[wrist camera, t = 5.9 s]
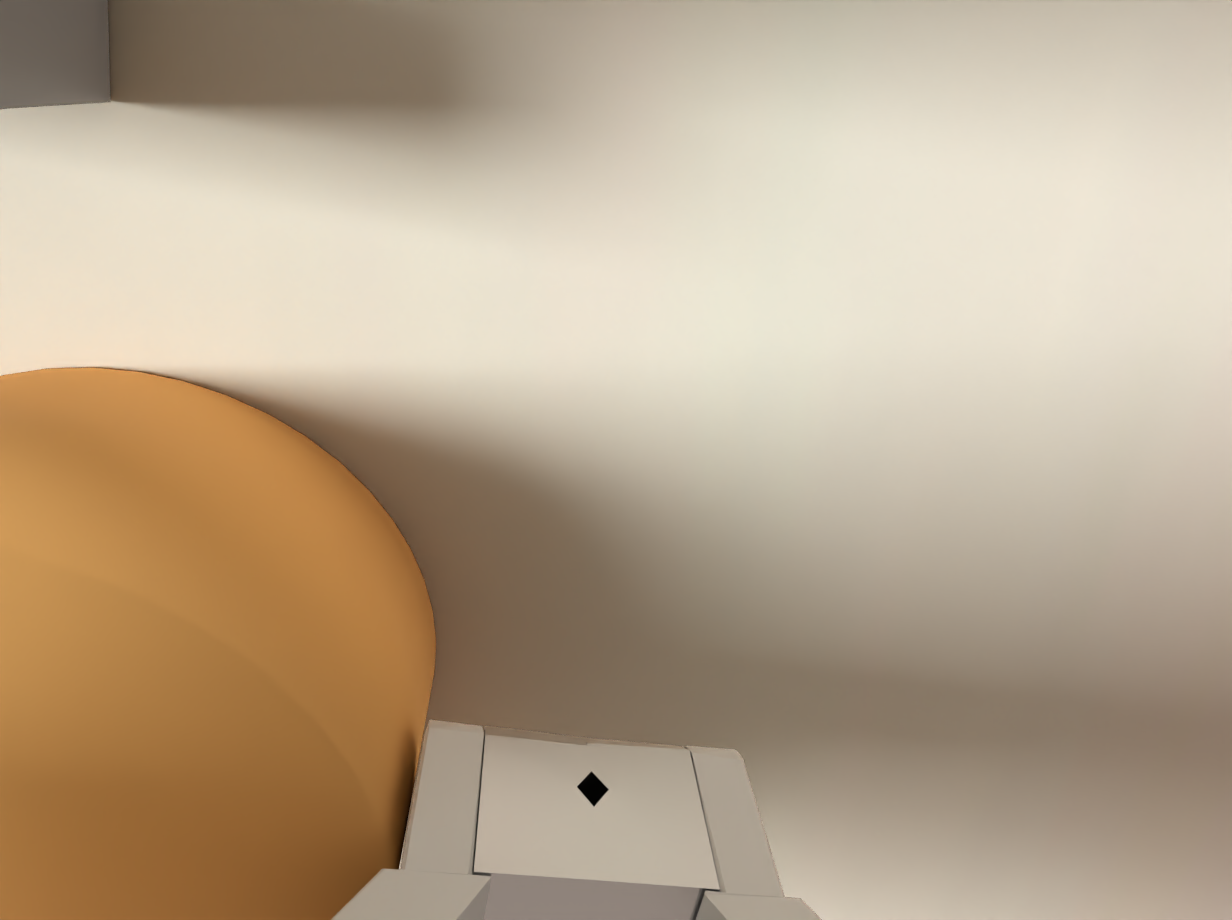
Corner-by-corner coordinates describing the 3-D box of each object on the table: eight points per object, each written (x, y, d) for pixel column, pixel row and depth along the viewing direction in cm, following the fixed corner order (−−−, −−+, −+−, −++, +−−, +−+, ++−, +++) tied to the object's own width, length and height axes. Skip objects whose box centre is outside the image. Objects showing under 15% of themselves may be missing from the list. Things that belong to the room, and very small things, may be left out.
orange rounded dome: (-233, 315, 7) (-694, 460, 5) (468, 421, 8) (431, 595, 5) (-128, 826, 10) (-391, 1120, 7) (408, 865, 11) (360, 1140, 8)
